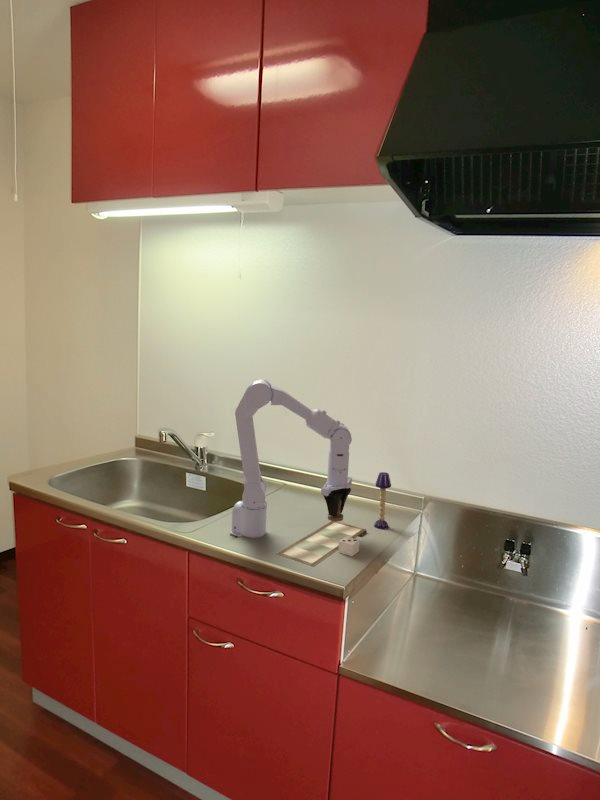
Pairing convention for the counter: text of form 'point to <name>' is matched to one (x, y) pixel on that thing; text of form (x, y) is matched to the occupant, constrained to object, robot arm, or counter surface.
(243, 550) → the counter surface
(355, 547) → the die
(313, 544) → the game board
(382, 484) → the toy lamp
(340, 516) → the pawn
